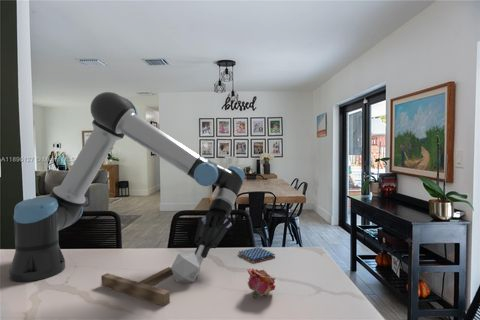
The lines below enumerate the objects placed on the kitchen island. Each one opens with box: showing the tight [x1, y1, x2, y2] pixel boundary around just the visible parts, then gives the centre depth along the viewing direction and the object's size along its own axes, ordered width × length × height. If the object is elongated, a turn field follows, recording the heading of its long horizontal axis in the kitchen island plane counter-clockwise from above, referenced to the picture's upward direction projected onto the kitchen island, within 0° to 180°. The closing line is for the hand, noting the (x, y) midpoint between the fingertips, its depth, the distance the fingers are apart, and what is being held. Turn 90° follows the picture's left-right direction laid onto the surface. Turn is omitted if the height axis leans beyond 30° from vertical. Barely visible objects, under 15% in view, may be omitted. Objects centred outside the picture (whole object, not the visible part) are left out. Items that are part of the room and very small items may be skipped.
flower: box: [246, 267, 276, 299], centre depth 82 cm, size 9×9×7 cm
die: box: [170, 252, 201, 284], centre depth 92 cm, size 8×9×10 cm
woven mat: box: [237, 246, 276, 264], centre depth 112 cm, size 10×11×2 cm
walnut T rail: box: [101, 266, 174, 307], centre depth 90 cm, size 24×16×3 cm, turn 61°
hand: (195, 266), depth 96 cm, fingers closed
